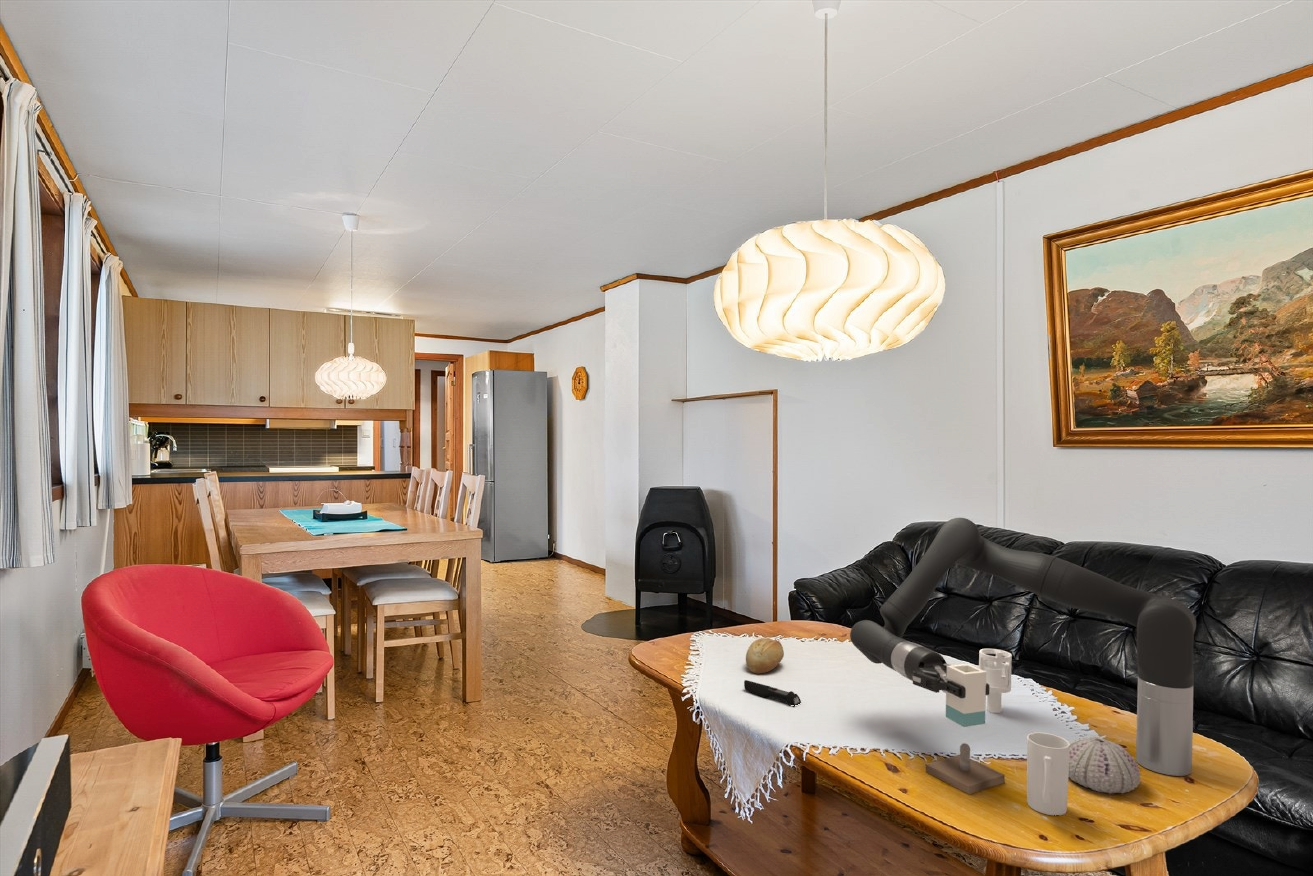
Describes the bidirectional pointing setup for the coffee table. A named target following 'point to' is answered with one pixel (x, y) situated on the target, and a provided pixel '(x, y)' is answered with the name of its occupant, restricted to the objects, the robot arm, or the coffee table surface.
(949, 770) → the pin board
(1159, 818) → the coffee table surface
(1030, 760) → the mug
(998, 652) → the strainer
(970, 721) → the sleeve
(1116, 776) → the sea urchin shell
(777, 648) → the bread roll
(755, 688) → the electric trimmer
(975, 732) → the coffee table surface
